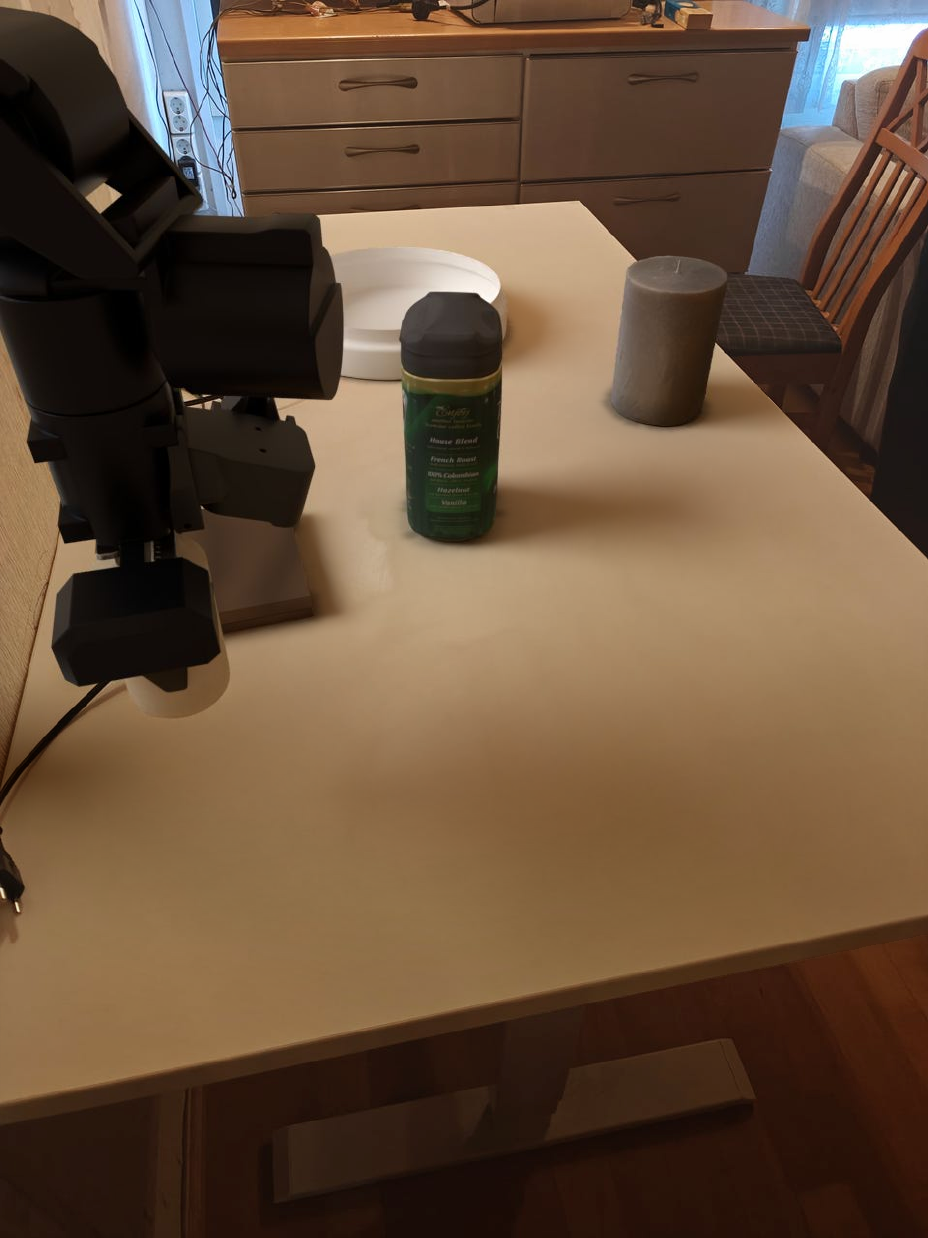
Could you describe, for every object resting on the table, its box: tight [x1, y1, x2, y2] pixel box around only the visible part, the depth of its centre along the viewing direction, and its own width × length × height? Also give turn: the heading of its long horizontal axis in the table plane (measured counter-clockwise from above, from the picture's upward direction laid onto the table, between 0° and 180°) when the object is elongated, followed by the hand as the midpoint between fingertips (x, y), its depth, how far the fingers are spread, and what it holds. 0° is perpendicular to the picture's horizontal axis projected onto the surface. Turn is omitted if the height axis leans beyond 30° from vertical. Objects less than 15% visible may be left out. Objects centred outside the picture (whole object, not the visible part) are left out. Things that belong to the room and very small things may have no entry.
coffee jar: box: [399, 292, 504, 542], centre depth 70 cm, size 10×8×19 cm
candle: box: [90, 533, 231, 720], centre depth 45 cm, size 6×6×10 cm
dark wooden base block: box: [181, 508, 315, 634], centre depth 69 cm, size 14×14×2 cm
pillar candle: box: [610, 255, 729, 427], centre depth 87 cm, size 10×10×15 cm
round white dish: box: [329, 246, 508, 381], centre depth 103 cm, size 27×27×6 cm
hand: (175, 650), depth 47 cm, fingers closed on candle, 5 cm apart
